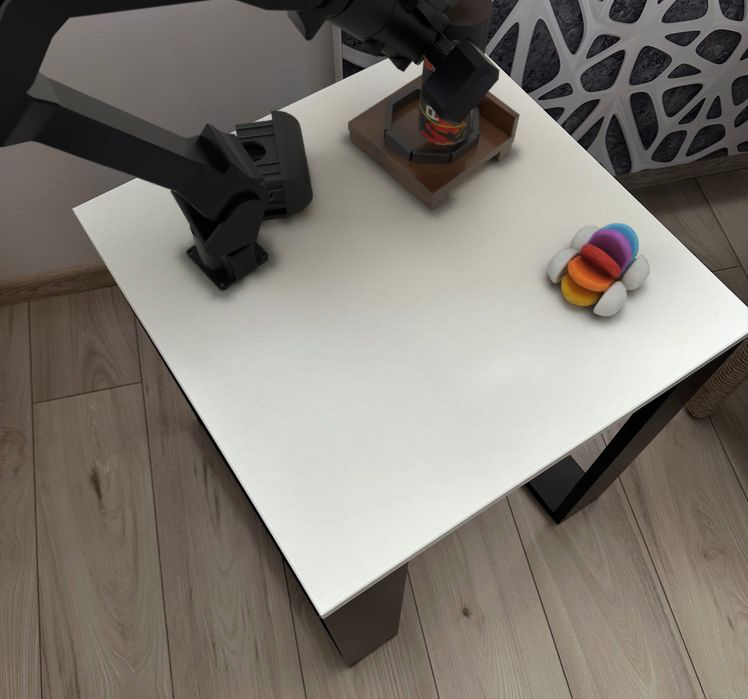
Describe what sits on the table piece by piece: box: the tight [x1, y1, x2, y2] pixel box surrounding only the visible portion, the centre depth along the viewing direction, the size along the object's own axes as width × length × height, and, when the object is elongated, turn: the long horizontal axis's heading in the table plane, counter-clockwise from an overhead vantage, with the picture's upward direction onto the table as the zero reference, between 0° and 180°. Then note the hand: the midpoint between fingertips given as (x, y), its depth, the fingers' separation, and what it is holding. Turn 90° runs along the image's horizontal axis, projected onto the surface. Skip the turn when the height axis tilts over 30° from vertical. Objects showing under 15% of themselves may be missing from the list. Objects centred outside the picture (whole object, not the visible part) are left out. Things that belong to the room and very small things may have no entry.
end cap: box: [234, 110, 314, 222], centre depth 84 cm, size 10×7×7 cm
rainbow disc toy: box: [547, 222, 651, 317], centre depth 78 cm, size 8×10×7 cm
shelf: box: [347, 73, 521, 211], centre depth 87 cm, size 14×13×6 cm
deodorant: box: [417, 0, 494, 145], centre depth 77 cm, size 6×6×15 cm
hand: (462, 65), depth 78 cm, fingers closed on deodorant, 6 cm apart
